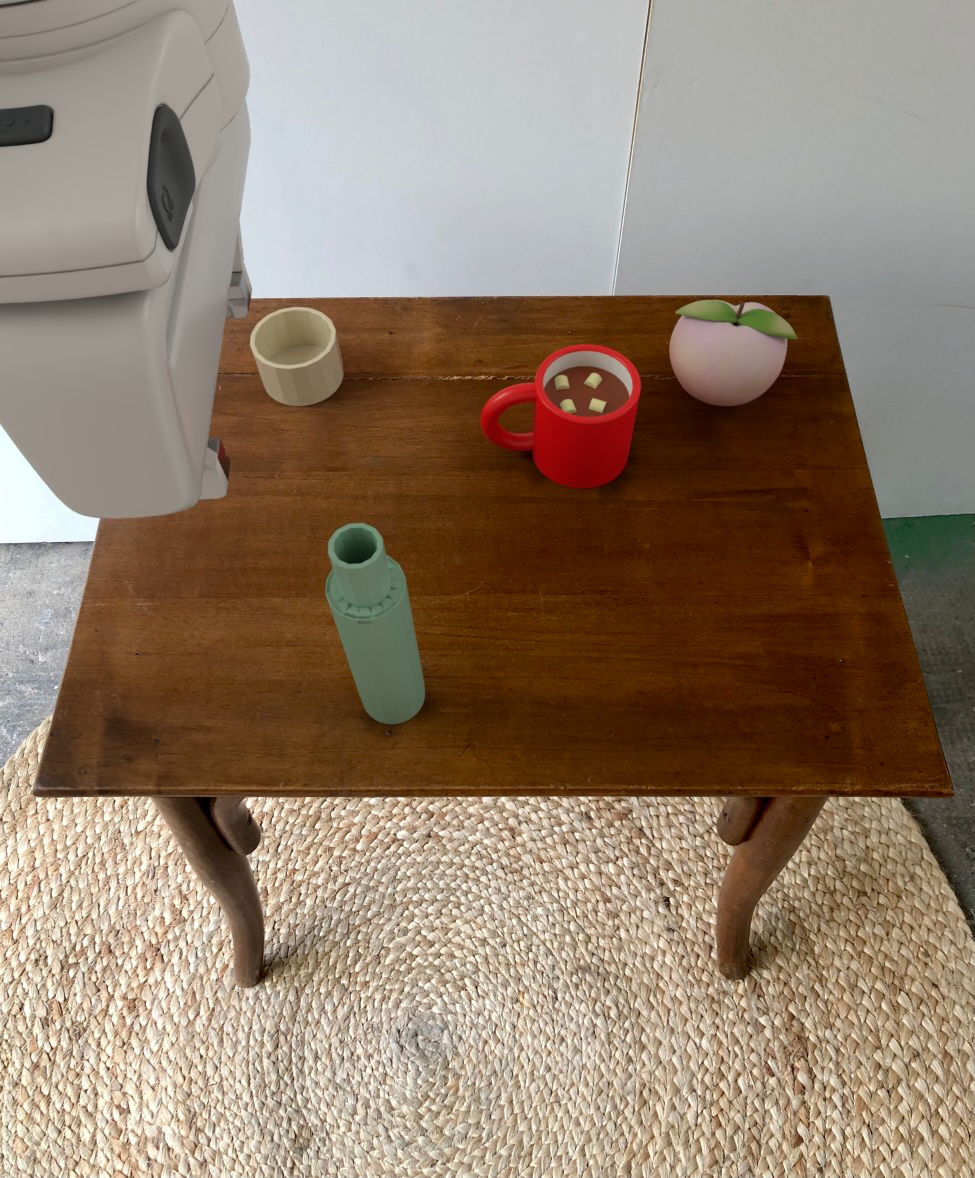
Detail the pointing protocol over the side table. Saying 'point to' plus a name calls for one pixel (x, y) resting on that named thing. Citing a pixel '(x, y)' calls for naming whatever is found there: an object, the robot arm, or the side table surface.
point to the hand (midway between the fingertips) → (221, 390)
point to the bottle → (375, 623)
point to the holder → (297, 356)
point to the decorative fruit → (728, 350)
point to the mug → (573, 415)
